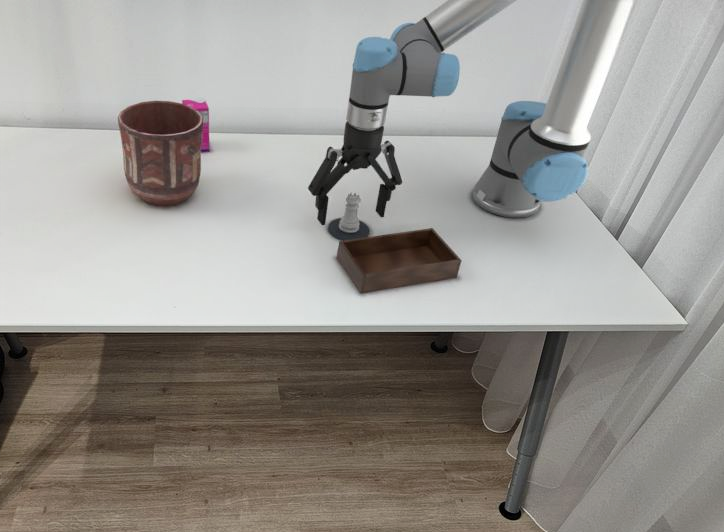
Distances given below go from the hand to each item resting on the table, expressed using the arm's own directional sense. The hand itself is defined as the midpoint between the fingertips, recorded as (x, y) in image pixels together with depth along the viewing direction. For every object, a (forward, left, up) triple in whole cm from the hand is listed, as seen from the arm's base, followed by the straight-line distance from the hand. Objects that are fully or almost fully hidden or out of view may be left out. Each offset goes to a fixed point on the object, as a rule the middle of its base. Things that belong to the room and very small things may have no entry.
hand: (350, 218), depth 155 cm
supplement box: (+30, -40, -3) cm, 50 cm away
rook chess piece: (0, 0, -3) cm, 3 cm away
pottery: (+39, -18, -3) cm, 43 cm away
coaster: (0, 0, -3) cm, 3 cm away
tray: (-6, +14, -3) cm, 16 cm away
